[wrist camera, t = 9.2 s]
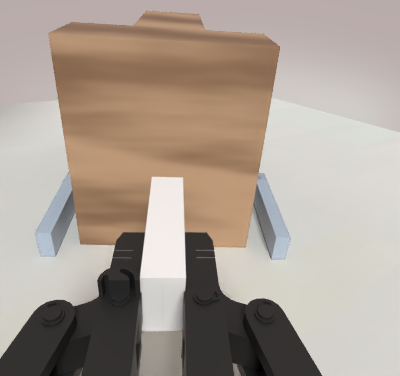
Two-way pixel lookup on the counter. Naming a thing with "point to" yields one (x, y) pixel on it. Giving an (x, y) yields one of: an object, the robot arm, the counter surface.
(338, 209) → the counter surface
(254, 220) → the counter surface
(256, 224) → the counter surface
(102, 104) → the tee block
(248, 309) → the robot arm
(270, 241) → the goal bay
